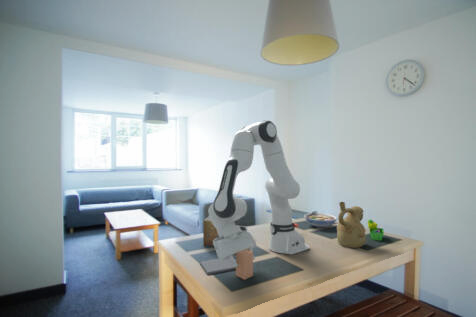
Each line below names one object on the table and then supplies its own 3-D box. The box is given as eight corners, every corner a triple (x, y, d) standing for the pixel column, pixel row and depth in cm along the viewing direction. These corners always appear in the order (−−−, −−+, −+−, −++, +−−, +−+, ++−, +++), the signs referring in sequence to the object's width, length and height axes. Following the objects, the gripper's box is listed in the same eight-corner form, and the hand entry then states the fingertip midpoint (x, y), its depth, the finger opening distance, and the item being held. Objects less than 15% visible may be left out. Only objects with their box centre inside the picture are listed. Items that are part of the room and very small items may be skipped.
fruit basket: (384, 241, 147) (384, 222, 147) (367, 239, 152) (367, 221, 152) (383, 236, 157) (383, 218, 157) (367, 234, 162) (367, 217, 162)
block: (244, 271, 108) (244, 248, 108) (252, 275, 104) (252, 251, 104) (236, 275, 104) (236, 251, 104) (244, 279, 101) (244, 255, 101)
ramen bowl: (332, 233, 163) (332, 221, 163) (299, 228, 176) (299, 216, 176) (340, 225, 184) (340, 214, 184) (309, 220, 197) (309, 210, 197)
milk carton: (221, 246, 139) (221, 212, 139) (203, 245, 141) (203, 211, 141) (226, 240, 149) (226, 208, 149) (209, 239, 152) (209, 208, 152)
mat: (231, 258, 122) (231, 256, 122) (241, 268, 112) (241, 265, 112) (199, 263, 116) (199, 261, 116) (207, 274, 105) (207, 272, 105)
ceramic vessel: (374, 245, 141) (374, 201, 141) (352, 252, 131) (352, 204, 131) (347, 237, 155) (347, 197, 155) (326, 242, 145) (326, 200, 145)
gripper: (214, 235, 102) (230, 266, 95) (248, 226, 116) (264, 252, 109) (207, 243, 105) (222, 274, 98) (242, 233, 120) (257, 259, 113)
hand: (245, 262), depth 104 cm, fingers open, 8 cm apart
